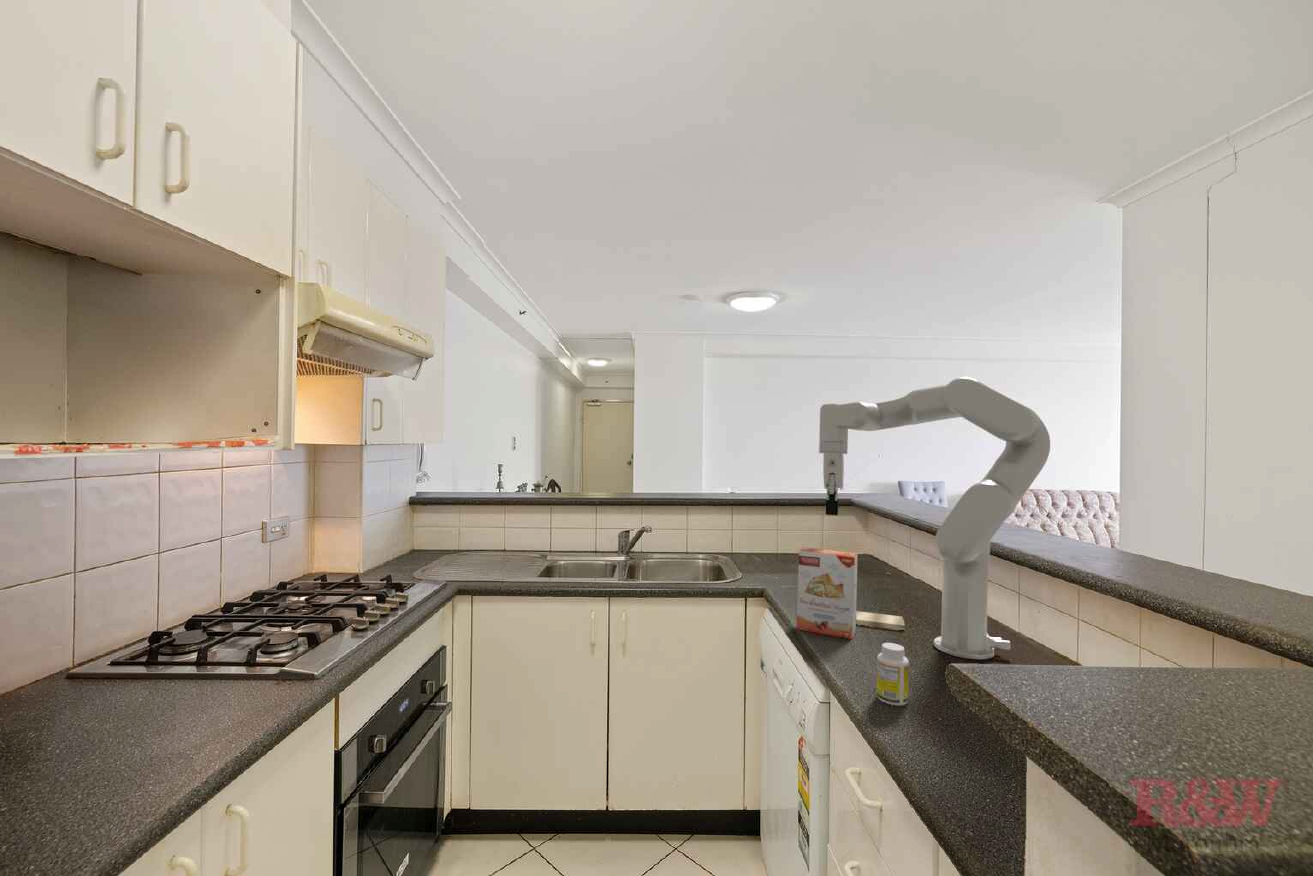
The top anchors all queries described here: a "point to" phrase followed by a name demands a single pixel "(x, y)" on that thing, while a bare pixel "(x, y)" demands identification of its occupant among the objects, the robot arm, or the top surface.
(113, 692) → the top surface
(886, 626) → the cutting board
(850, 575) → the cracker box
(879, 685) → the supplement bottle
